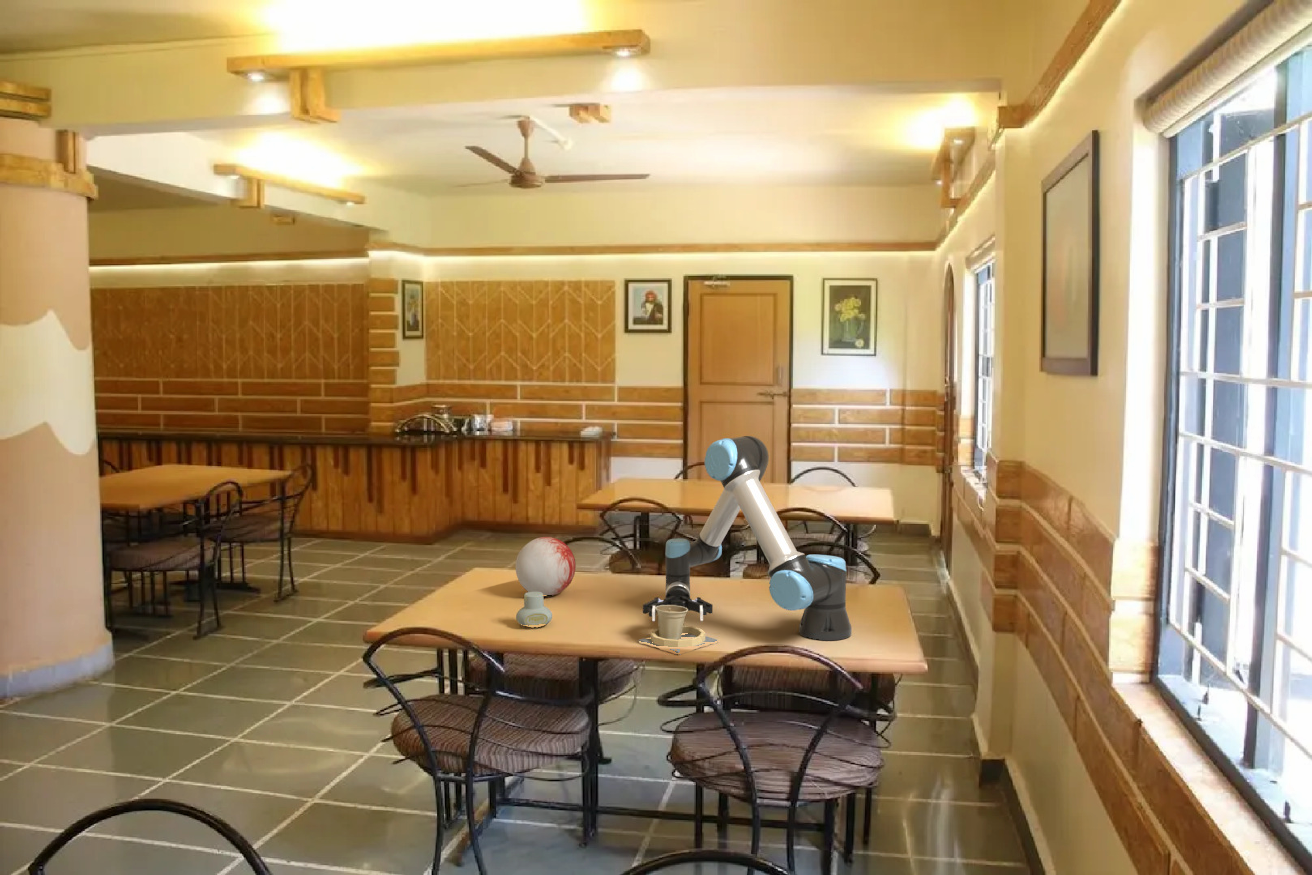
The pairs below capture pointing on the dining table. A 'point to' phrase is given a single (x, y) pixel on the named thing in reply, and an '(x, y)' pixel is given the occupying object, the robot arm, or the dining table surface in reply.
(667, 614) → the flower pot
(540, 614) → the air freshener
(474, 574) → the dining table surface
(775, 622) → the dining table surface
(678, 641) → the collar plate
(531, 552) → the decorative orb
